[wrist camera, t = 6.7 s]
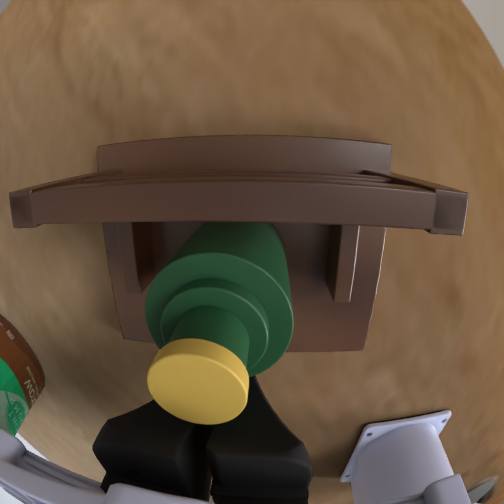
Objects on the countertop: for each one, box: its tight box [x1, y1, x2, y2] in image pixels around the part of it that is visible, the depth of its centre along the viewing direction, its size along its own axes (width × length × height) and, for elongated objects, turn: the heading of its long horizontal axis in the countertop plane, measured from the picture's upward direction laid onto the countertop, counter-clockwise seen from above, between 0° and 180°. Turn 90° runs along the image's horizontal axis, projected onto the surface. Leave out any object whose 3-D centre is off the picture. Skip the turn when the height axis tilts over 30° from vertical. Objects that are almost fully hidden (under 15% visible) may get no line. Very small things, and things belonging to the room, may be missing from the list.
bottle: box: [145, 222, 294, 425], centre depth 10 cm, size 4×4×9 cm
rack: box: [9, 135, 468, 352], centre depth 11 cm, size 11×14×7 cm
